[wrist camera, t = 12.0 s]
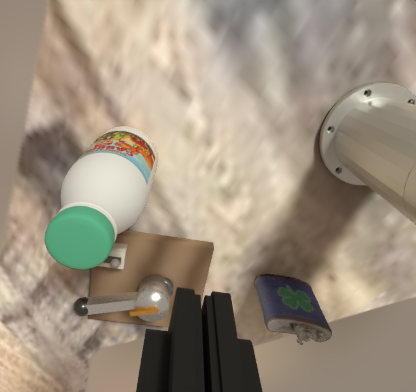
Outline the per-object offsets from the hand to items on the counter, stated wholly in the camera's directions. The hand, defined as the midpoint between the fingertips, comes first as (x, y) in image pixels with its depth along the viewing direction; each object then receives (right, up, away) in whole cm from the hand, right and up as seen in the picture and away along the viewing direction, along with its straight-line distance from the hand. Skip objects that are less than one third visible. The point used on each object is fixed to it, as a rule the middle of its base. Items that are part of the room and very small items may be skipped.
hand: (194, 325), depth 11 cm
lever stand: (-8, -8, +38) cm, 40 cm away
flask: (+12, -9, +40) cm, 43 cm away
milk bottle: (-10, +9, +31) cm, 34 cm away
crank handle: (-11, -9, +37) cm, 40 cm away
